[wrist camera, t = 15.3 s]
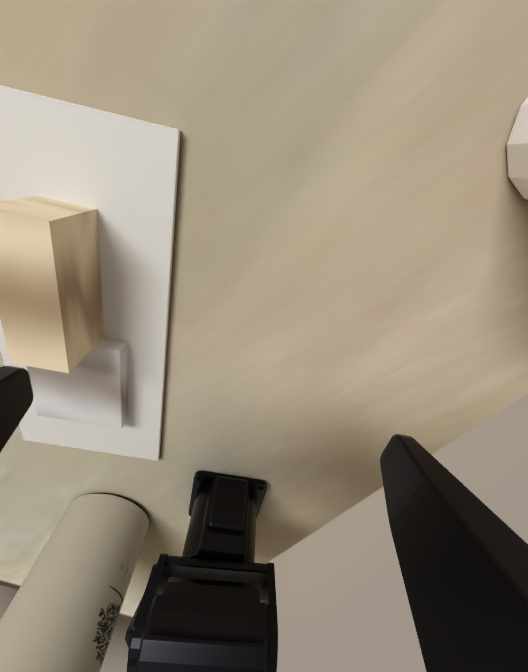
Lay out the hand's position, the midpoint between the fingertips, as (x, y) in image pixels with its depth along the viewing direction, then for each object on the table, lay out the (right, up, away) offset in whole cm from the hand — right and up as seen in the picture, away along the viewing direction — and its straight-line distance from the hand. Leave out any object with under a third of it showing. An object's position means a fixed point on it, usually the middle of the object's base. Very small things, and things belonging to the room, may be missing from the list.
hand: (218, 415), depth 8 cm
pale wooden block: (-11, +3, +12) cm, 16 cm away
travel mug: (-14, -16, +23) cm, 32 cm away
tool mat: (-11, +3, +13) cm, 17 cm away
